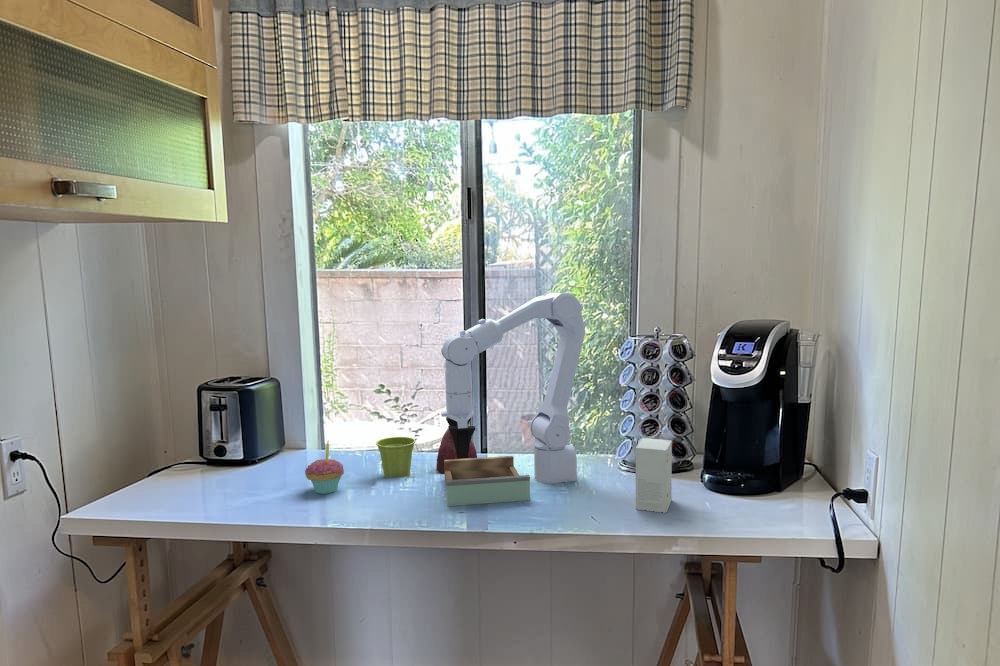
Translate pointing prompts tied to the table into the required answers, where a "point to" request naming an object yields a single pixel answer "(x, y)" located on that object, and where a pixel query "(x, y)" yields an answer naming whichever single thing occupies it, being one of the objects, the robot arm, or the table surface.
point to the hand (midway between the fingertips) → (461, 453)
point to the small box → (653, 475)
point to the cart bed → (479, 468)
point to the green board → (488, 490)
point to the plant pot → (396, 456)
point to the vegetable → (450, 451)
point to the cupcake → (325, 474)
